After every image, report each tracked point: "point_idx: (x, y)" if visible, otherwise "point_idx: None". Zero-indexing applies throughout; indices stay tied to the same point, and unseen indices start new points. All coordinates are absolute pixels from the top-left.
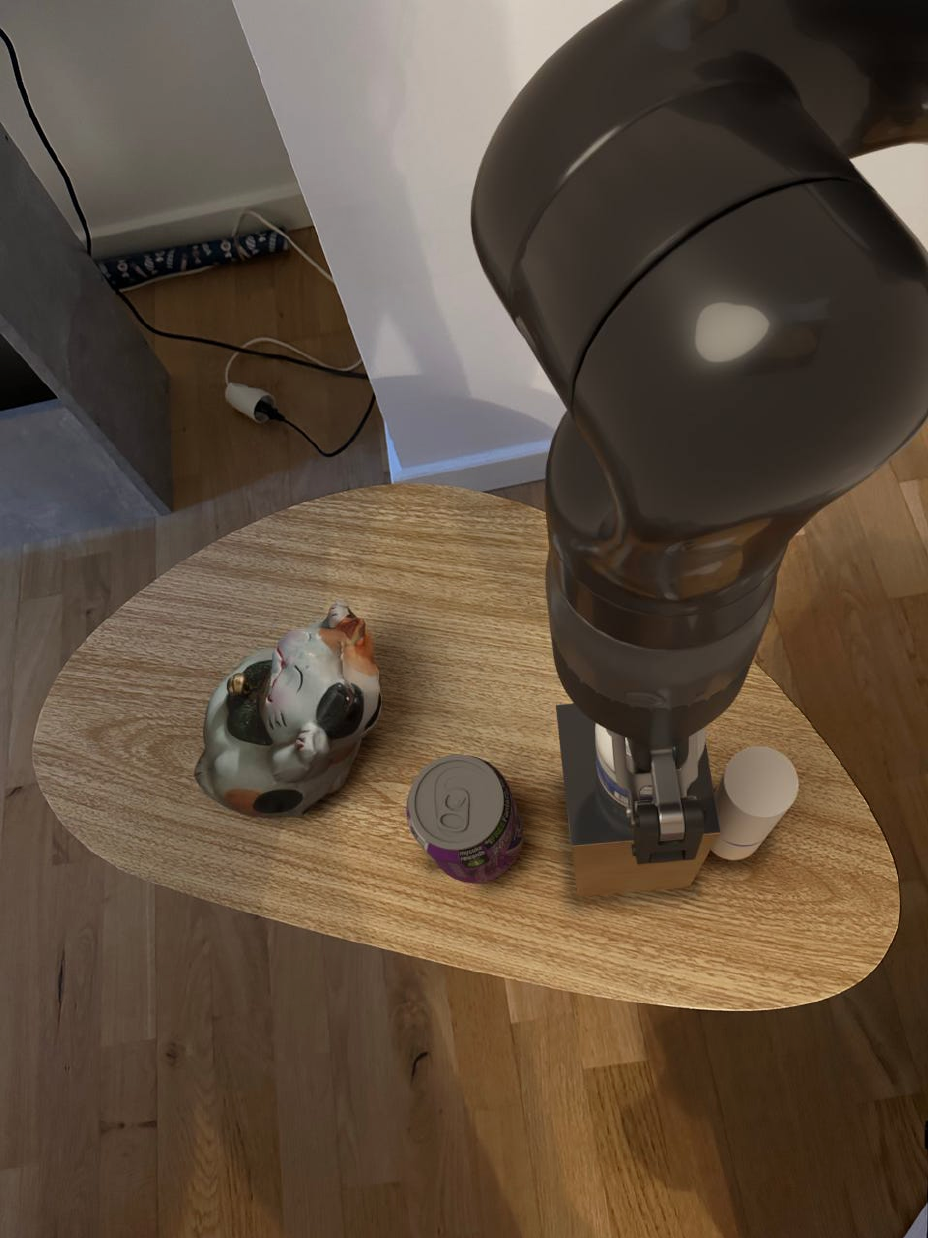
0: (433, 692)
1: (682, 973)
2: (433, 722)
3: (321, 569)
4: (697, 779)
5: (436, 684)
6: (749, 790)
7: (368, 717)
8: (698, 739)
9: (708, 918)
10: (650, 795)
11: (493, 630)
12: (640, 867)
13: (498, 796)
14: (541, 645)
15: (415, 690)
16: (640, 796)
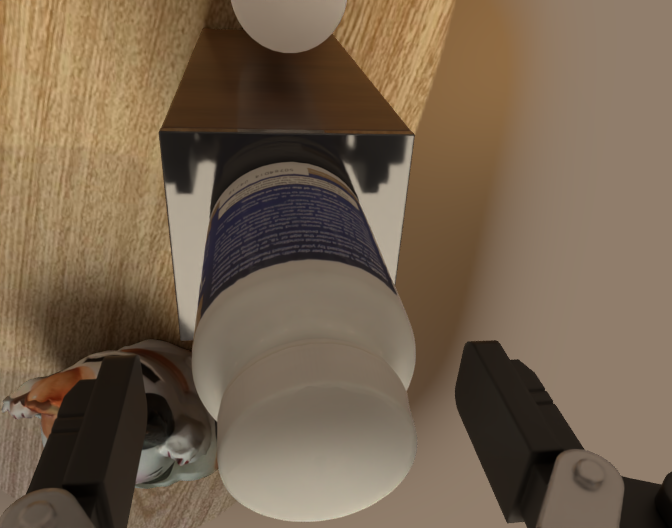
0: (99, 276)
1: (417, 58)
2: (133, 277)
3: None
4: (323, 157)
5: (89, 273)
6: (301, 14)
7: (145, 383)
8: (353, 303)
9: (368, 17)
10: (516, 493)
11: (15, 214)
12: None
13: None
14: (30, 163)
15: (97, 292)
16: (512, 509)
